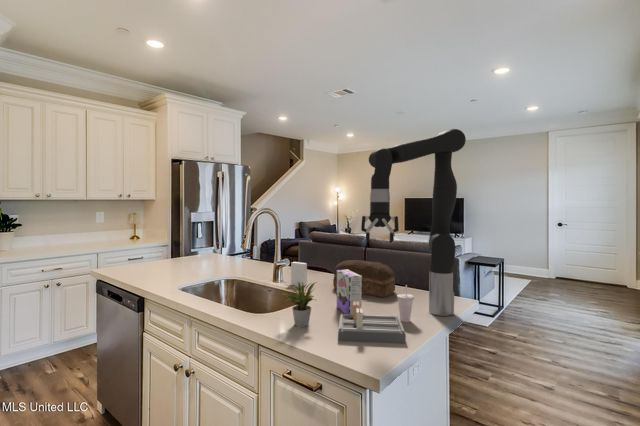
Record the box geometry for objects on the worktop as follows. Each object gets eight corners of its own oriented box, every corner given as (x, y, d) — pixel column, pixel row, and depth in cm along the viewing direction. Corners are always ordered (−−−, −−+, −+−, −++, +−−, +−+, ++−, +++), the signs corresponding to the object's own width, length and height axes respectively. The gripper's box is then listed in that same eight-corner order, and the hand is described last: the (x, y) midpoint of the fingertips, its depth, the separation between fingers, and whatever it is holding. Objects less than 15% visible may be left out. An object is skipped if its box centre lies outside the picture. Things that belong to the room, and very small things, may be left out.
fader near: (362, 324, 122) (362, 307, 121) (362, 328, 117) (362, 311, 117) (356, 323, 122) (356, 307, 121) (356, 328, 117) (356, 311, 117)
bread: (386, 299, 165) (386, 265, 165) (329, 289, 184) (330, 259, 183) (398, 292, 177) (398, 261, 177) (344, 283, 196) (344, 255, 195)
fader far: (358, 316, 130) (358, 301, 129) (358, 320, 125) (359, 304, 125) (353, 316, 130) (353, 300, 130) (353, 320, 125) (353, 304, 125)
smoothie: (401, 324, 132) (402, 287, 131) (393, 318, 138) (394, 283, 137) (416, 322, 133) (417, 286, 133) (408, 317, 140) (408, 282, 139)
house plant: (302, 314, 142) (302, 274, 142) (328, 322, 134) (329, 279, 133) (276, 324, 131) (276, 280, 131) (303, 332, 123) (303, 286, 122)
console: (399, 325, 130) (399, 315, 130) (405, 343, 114) (405, 331, 114) (339, 323, 132) (340, 313, 132) (338, 340, 116) (338, 329, 116)
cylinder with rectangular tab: (310, 283, 195) (310, 262, 194) (300, 287, 187) (300, 264, 187) (297, 281, 199) (297, 260, 199) (287, 285, 192) (287, 263, 191)
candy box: (335, 307, 152) (336, 269, 152) (348, 305, 154) (348, 268, 154) (348, 317, 139) (349, 276, 139) (362, 315, 141) (362, 275, 141)
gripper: (397, 201, 139) (396, 241, 140) (361, 200, 140) (361, 241, 141) (399, 201, 132) (399, 244, 132) (361, 200, 133) (361, 243, 133)
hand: (379, 242), depth 137 cm, fingers open, 8 cm apart
